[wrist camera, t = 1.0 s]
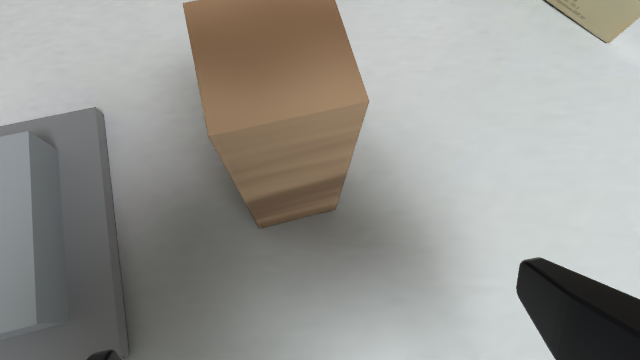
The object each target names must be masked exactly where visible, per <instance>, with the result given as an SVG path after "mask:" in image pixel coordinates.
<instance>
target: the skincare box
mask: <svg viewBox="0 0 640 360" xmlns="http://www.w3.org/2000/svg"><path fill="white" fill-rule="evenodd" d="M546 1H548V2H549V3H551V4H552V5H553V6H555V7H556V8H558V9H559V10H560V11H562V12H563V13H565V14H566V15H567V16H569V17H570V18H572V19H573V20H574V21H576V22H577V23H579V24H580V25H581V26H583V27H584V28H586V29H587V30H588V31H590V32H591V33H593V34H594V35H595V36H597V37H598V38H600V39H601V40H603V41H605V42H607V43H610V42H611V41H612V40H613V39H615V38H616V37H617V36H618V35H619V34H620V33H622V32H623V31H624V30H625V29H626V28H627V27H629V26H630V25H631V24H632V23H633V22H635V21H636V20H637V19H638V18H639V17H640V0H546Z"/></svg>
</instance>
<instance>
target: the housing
mask: <svg viewBox="0 0 640 360" xmlns="http://www.w3.org/2000/svg"><path fill="white" fill-rule="evenodd" d="M110 349H111V350H115V351H116V352H117V354H118V356H119V357H124V356H127V355H129V347H128V338H127V328H126V319H125V310H124V300H123V291H122V282H121V272H120V263H119V254H118V245H117V235H116V226H115V217H114V207H113V198H112V189H111V179H110V170H109V161H108V152H107V142H106V133H105V124H104V115H103V114H102V113H101V112H100V111H99V110H98V109H97V108H96V107H94V108H89V109H84V110H79V111H74V112H69V113H64V114H60V115H55V116H50V117H45V118H40V119H35V120H30V121H25V122H20V123H15V124H10V125H5V126H1V127H0V360H86V359H87V358H88V357H89V356H90V355H92V354H93V353H96V352H101V351H105V350H110Z"/></svg>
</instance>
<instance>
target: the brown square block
mask: <svg viewBox="0 0 640 360" xmlns="http://www.w3.org/2000/svg"><path fill="white" fill-rule="evenodd" d="M183 8H184V13H185V18H186V23H187V28H188V33H189V39H190V44H191V49H192V54H193V59H194V64H195V70H196V75H197V80H198V85H199V90H200V95H201V101H202V106H203V111H204V116H205V121H206V126H207V132H208V137H209V138H210V140H211V142H212V144H213V146H214V147H215V149H216V151H217V153H218V155H219V156H220V158H221V160H222V162H223V164H224V165H225V167H226V169H227V171H228V173H229V174H230V176H231V178H232V180H233V182H234V183H235V185H236V187H237V189H238V191H239V193H240V194H241V196H242V198H243V200H244V202H245V203H246V205H247V207H248V209H249V211H250V212H251V214H252V216H253V218H254V220H255V221H256V223H257V225H258V227H259V228H263V227H267V226H271V225H275V224H279V223H283V222H287V221H291V220H295V219H299V218H303V217H307V216H311V215H315V214H320V213H324V212H328V211H332V210H336V206H337V203H338V200H339V197H340V194H341V190H342V187H343V184H344V181H345V178H346V174H347V171H348V168H349V165H350V162H351V158H352V155H353V152H354V149H355V145H356V142H357V139H358V136H359V133H360V129H361V126H362V123H363V120H364V117H365V113H366V110H367V107H368V104H369V99H368V96H367V93H366V90H365V87H364V84H363V81H362V78H361V75H360V72H359V69H358V67H357V64H356V61H355V58H354V55H353V52H352V49H351V46H350V43H349V40H348V37H347V34H346V31H345V28H344V25H343V22H342V19H341V16H340V13H339V10H338V8H337V5H336V2H335V0H197V1H192V2H186V3H183Z"/></svg>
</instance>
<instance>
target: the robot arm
mask: <svg viewBox="0 0 640 360" xmlns="http://www.w3.org/2000/svg"><path fill="white" fill-rule="evenodd" d="M516 289H517V294H518V297H519V299H520V301H521V302H522V304H523V306H524V307H525V309H526V311H527V313H528V314H529V316H530V318H531V319H532V321H533V323H534V324H535V326H536V328H537V330H538V331H539V333H540V335H541V336H542V338H543V340H544V341H545V343H546V345H547V346H548V348H549V350H550V351H551V353H552V355H553V356H554V358H555V359H556V360H640V299H638V298H635V297H633V296H631V295H628V294H626V293H623V292H621V291H619V290H616V289H614V288H612V287H609V286H607V285H605V284H602V283H600V282H597V281H595V280H593V279H590V278H588V277H586V276H583V275H581V274H579V273H576V272H574V271H571V270H569V269H567V268H564V267H562V266H560V265H557V264H555V263H552V262H550V261H548V260H545V259H543V258H532V259H527V260H524V261H522V262H521V263H520V266H519V273H518V279H517V286H516ZM86 360H121V359H120V357H119V356H118V354H117V352H116V351H115V350H111V349H110V350H105V351H101V352H96V353H93V354H92V355H90V356H89V357H88V358H87V359H86Z"/></svg>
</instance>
